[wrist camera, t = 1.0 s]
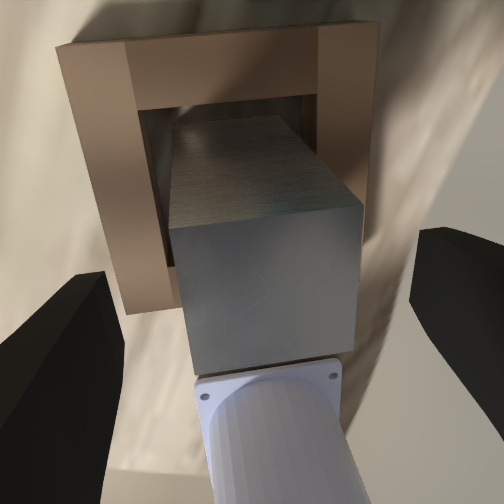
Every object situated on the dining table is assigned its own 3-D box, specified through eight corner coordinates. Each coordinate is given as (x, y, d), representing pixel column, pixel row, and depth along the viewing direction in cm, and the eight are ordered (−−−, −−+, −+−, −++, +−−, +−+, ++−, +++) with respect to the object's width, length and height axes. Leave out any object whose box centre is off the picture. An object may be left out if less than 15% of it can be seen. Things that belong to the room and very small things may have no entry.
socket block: (344, 259, 20) (359, 282, 19) (130, 288, 19) (126, 315, 18) (356, 20, 15) (379, 21, 14) (70, 43, 14) (55, 47, 13)
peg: (280, 208, 18) (353, 350, 11) (188, 219, 18) (194, 375, 10) (277, 114, 17) (364, 204, 9) (173, 124, 16) (168, 229, 8)
